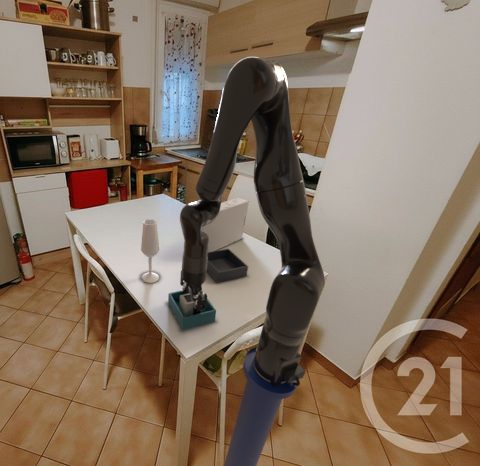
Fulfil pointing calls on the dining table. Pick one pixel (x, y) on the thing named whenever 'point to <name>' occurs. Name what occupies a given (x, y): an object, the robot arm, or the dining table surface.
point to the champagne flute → (150, 247)
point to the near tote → (194, 320)
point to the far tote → (225, 265)
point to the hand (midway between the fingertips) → (191, 306)
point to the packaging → (227, 224)
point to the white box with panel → (186, 305)
